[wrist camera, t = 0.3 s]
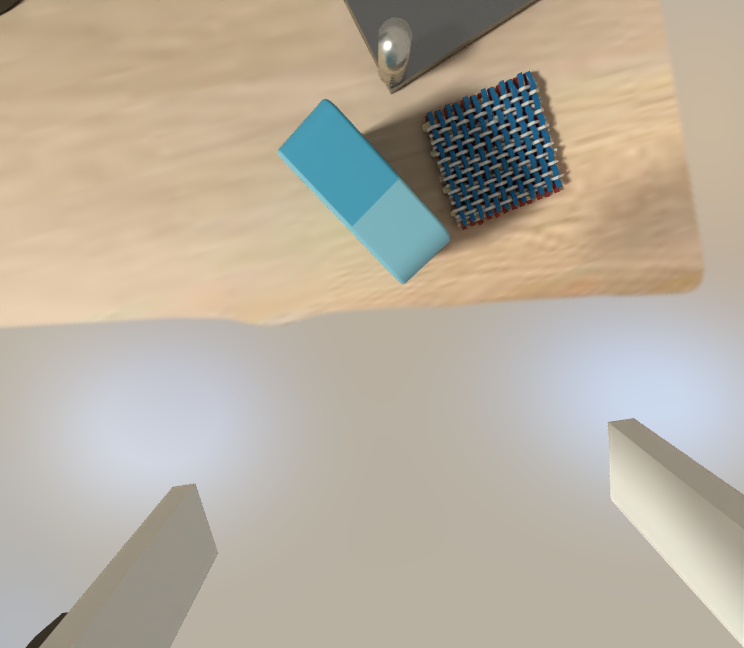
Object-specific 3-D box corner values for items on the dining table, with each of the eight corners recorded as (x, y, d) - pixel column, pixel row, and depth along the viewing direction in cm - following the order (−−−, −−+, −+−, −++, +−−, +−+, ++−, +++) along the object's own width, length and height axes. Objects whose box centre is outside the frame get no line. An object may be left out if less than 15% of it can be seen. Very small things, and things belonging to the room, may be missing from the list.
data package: (430, 239, 35) (456, 239, 23) (395, 272, 35) (404, 288, 24) (341, 142, 33) (321, 88, 21) (307, 179, 34) (269, 146, 22)
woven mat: (454, 234, 35) (459, 234, 33) (417, 122, 33) (419, 114, 31) (560, 192, 34) (572, 189, 32) (529, 73, 32) (539, 62, 30)
